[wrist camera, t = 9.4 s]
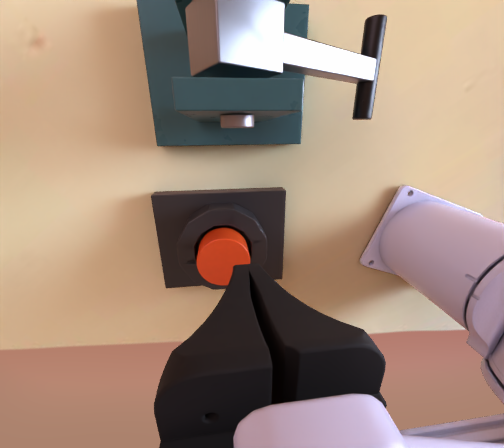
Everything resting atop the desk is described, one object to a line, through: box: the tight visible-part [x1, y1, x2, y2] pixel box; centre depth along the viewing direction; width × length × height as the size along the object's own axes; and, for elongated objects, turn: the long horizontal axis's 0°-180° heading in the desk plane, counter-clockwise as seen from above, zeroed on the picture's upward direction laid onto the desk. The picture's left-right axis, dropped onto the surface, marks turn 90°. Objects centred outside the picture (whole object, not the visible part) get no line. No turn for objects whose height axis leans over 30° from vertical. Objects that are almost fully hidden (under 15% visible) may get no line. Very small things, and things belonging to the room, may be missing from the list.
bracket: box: [137, 0, 309, 146], centre depth 12 cm, size 10×8×10 cm
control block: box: [151, 187, 286, 289], centre depth 19 cm, size 10×8×3 cm
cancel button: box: [197, 228, 250, 285], centre depth 17 cm, size 4×4×2 cm
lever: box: [185, 0, 387, 120], centre depth 11 cm, size 11×5×2 cm, turn 91°
